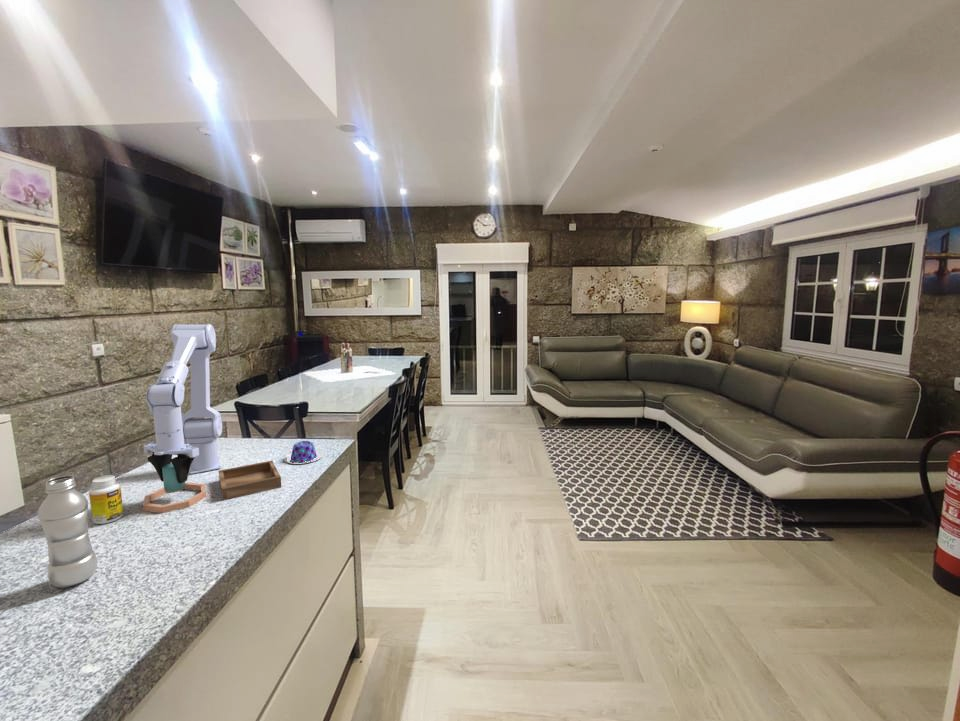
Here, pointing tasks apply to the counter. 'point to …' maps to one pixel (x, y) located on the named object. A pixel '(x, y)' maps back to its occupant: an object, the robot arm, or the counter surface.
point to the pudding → (303, 452)
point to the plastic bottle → (66, 533)
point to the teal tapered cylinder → (171, 479)
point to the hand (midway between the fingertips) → (174, 480)
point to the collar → (173, 506)
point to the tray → (249, 479)
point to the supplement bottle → (105, 499)
